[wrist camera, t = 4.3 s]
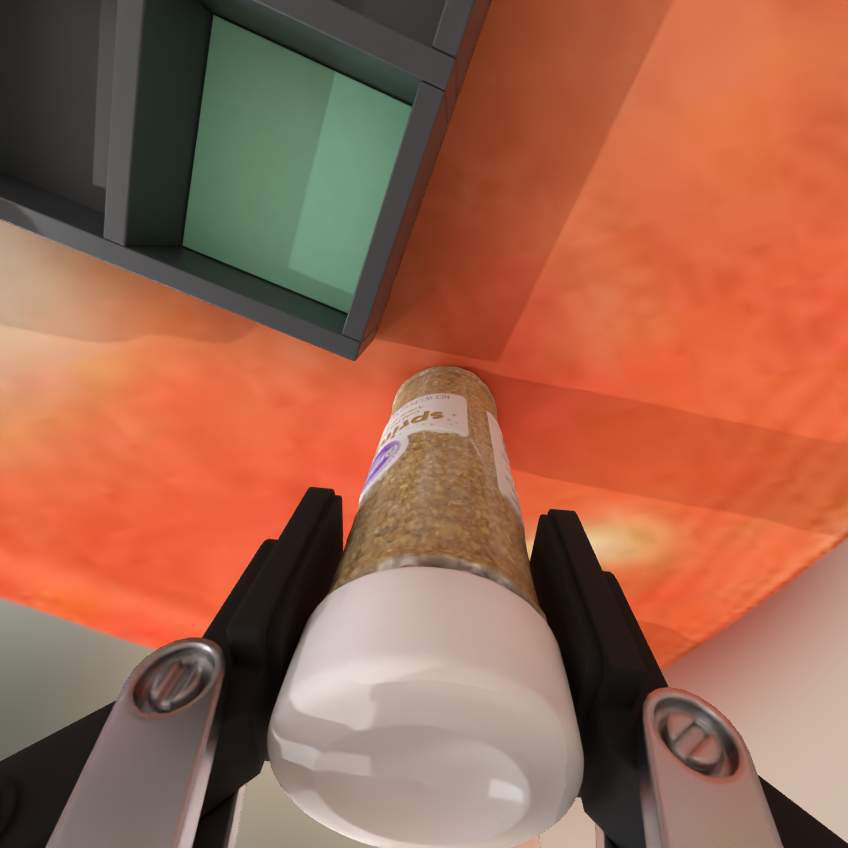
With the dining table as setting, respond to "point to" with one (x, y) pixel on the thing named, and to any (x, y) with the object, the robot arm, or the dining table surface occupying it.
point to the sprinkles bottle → (431, 649)
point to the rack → (234, 144)
